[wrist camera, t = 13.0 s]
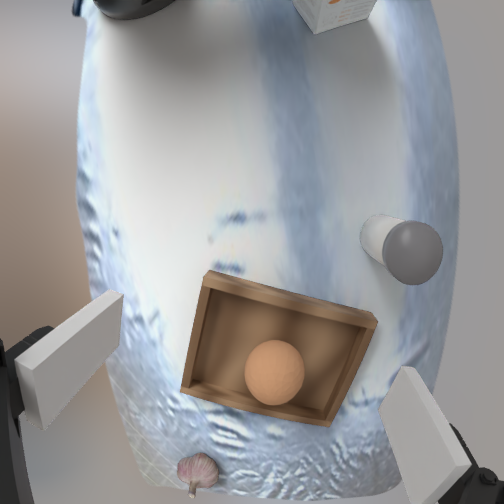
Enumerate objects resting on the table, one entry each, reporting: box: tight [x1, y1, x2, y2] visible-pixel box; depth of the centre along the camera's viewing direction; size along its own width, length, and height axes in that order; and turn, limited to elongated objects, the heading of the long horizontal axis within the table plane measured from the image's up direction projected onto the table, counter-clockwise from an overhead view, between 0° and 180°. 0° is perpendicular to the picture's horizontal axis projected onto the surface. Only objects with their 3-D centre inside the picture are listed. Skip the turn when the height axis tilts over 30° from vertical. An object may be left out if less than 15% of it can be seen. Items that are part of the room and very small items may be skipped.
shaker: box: [360, 215, 443, 285], centre depth 30 cm, size 5×5×11 cm
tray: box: [180, 270, 378, 427], centre depth 37 cm, size 20×16×3 cm
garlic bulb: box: [177, 453, 219, 498], centre depth 40 cm, size 8×7×8 cm
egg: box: [244, 340, 305, 405], centre depth 34 cm, size 7×7×9 cm
